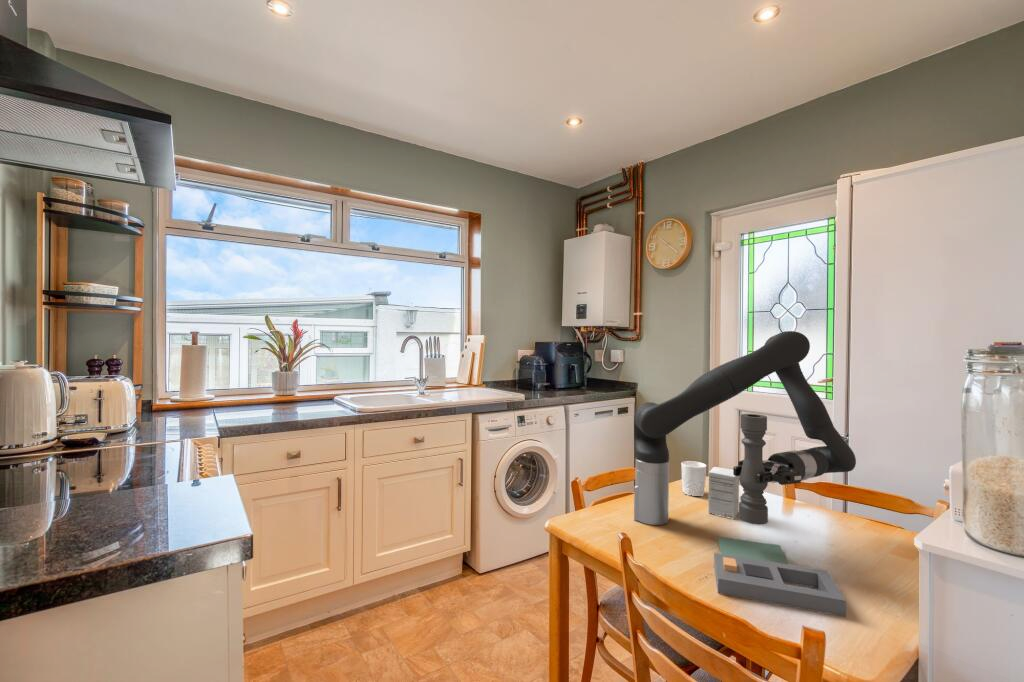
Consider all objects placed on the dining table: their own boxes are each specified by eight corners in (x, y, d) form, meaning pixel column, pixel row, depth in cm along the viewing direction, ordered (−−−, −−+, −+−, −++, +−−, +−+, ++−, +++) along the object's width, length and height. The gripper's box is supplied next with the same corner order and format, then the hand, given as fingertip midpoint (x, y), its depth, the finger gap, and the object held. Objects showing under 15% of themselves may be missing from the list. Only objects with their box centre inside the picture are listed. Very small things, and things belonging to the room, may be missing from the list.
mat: (722, 561, 107) (722, 557, 107) (718, 540, 118) (718, 536, 118) (790, 572, 102) (791, 568, 102) (779, 549, 113) (779, 545, 113)
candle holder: (771, 525, 107) (772, 418, 106) (743, 523, 108) (743, 417, 107) (762, 515, 113) (763, 414, 112) (735, 513, 114) (736, 413, 114)
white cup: (676, 490, 157) (677, 461, 157) (698, 489, 158) (699, 460, 158) (687, 498, 149) (687, 467, 149) (710, 497, 150) (711, 467, 150)
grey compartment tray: (718, 593, 94) (718, 572, 94) (713, 565, 105) (714, 547, 105) (845, 616, 86) (846, 594, 86) (826, 584, 97) (826, 564, 97)
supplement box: (713, 506, 142) (713, 466, 142) (739, 512, 138) (739, 470, 138) (707, 513, 136) (708, 471, 136) (734, 519, 132) (735, 476, 132)
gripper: (765, 445, 123) (720, 452, 115) (821, 458, 109) (774, 467, 102) (765, 473, 123) (720, 482, 116) (821, 489, 110) (774, 500, 102)
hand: (746, 475), depth 109 cm, fingers closed on candle holder, 5 cm apart
